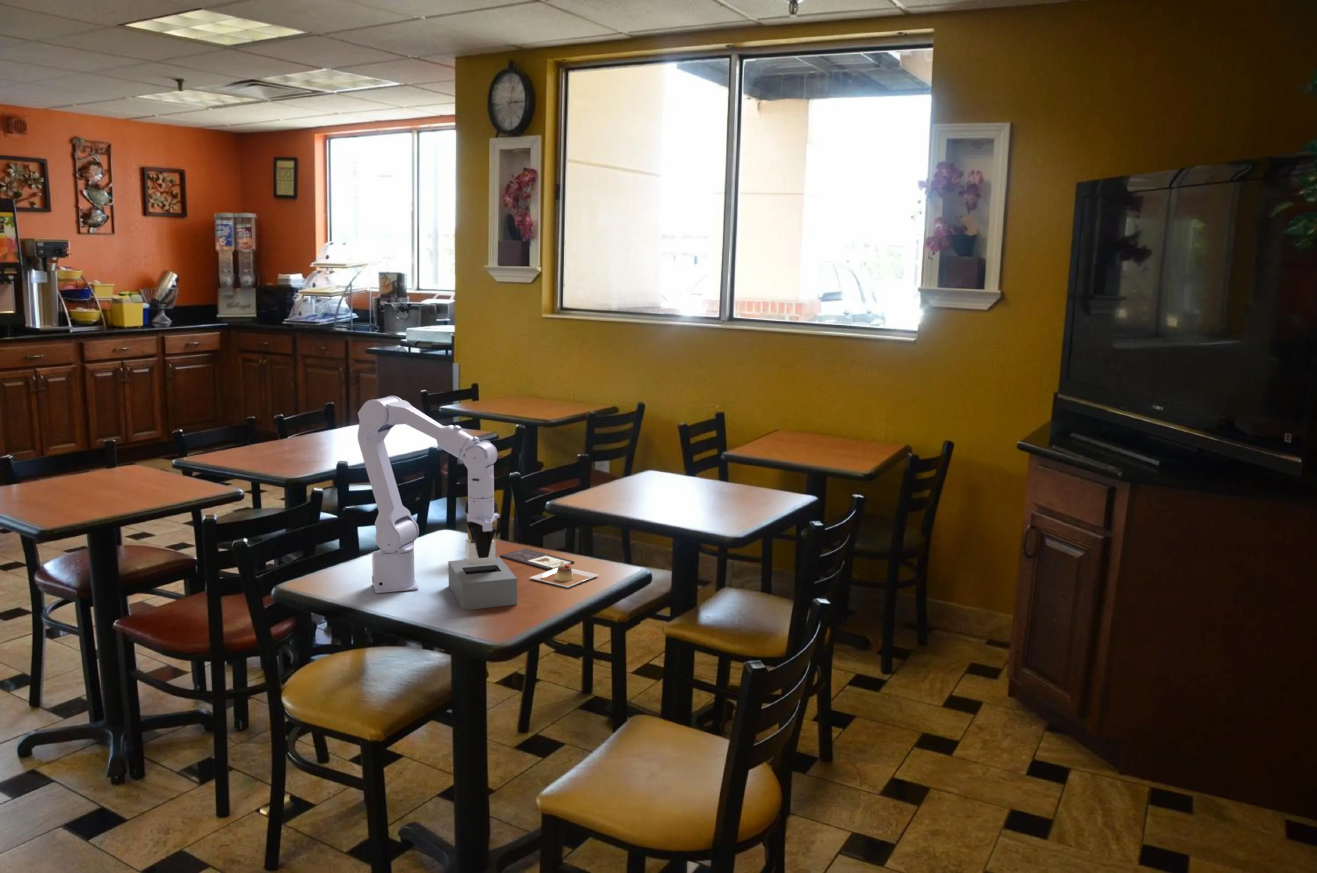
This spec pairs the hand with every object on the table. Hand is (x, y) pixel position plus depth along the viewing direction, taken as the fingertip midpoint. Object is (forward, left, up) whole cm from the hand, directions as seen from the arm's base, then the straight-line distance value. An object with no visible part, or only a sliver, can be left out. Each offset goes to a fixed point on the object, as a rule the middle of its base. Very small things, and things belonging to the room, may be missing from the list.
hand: (481, 555), depth 221 cm
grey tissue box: (0, 0, -9) cm, 9 cm away
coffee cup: (+6, +30, -10) cm, 32 cm away
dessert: (+21, +7, -10) cm, 24 cm away
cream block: (0, 0, -2) cm, 2 cm away
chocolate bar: (+19, +24, -10) cm, 32 cm away
